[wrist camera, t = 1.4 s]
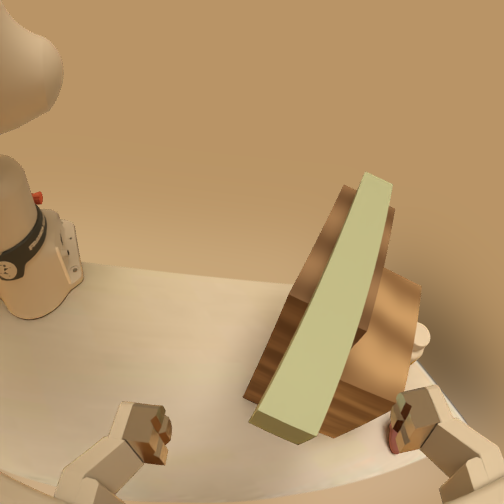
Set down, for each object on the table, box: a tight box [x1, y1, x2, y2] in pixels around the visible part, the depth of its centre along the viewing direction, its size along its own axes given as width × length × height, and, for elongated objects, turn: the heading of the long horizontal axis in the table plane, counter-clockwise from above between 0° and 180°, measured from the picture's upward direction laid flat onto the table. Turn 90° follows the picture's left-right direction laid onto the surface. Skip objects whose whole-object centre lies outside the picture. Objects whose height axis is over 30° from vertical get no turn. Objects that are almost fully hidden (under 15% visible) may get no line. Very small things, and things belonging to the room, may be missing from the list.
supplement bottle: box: [410, 322, 430, 365], centre depth 42 cm, size 5×5×10 cm
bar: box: [249, 172, 393, 445], centre depth 21 cm, size 24×3×3 cm, turn 153°
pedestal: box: [243, 185, 422, 438], centre depth 34 cm, size 16×14×25 cm
